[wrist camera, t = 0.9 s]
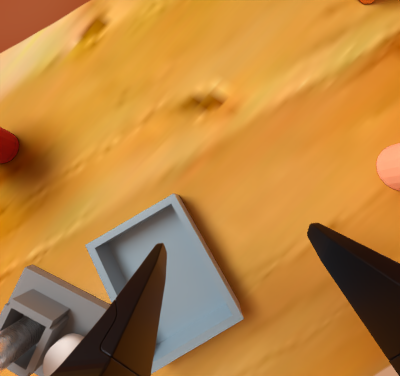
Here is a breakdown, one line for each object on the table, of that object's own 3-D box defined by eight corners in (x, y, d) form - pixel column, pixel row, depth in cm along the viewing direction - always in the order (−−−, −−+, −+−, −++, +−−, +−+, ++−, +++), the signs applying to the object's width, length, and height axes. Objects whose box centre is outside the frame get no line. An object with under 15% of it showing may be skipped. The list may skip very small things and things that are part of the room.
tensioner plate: (119, 309, 23) (103, 328, 20) (84, 390, 22) (60, 426, 19) (32, 264, 25) (2, 274, 21) (-5, 339, 24) (-42, 362, 20)
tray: (238, 301, 23) (244, 318, 19) (155, 350, 22) (145, 377, 19) (178, 195, 25) (173, 193, 21) (102, 239, 25) (85, 245, 21)
